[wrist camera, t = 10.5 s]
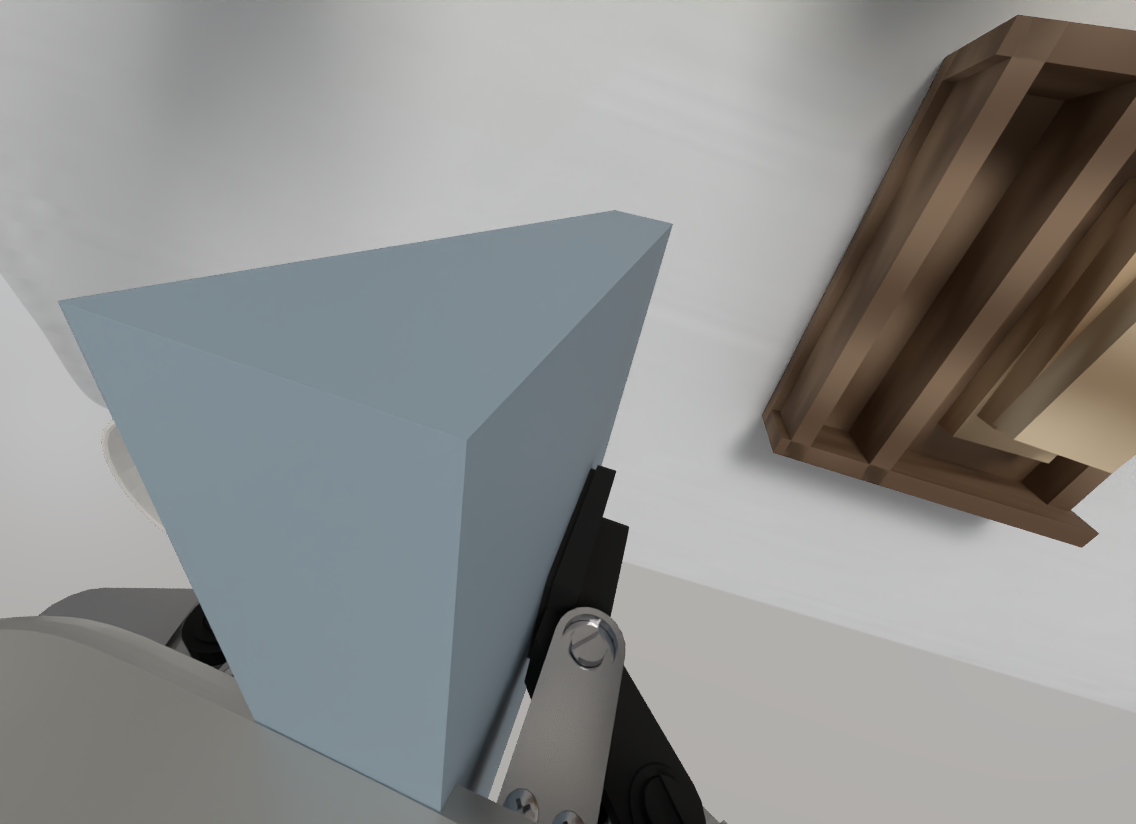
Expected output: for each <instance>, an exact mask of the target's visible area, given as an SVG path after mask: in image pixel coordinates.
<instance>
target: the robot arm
mask: <svg viewBox="0 0 1136 824" xmlns="http://www.w3.org/2000/svg"><path fill="white" fill-rule="evenodd" d="M615 474H616V471H615V470H612V469H609V468H606V467H603V466H600V465H597V468H596V470H595V469H592V468H591V469H590V471H589V474H588V476H587V479H586V481H585V484H584V486H583V489H582V491H581V494H580V496H579V499H578V501H577V504H576V506H575V509H574V511H573V514H572V516H571V519H570V521H569V524H568V526H567V529H566V531H565V534H564V536H563V539H562V541H561V544H560V547H559V549H558V552H557V554H556V557H555V559H554V562H553V564H552V567H551V569H550V572H549V575H548V578H547V581H546V584H545V588H544V591H543V595H542V599H541V603H540V607H539V611H538V615H537V619H536V623H535V627H534V631H533V635H532V639H531V643H530V647H529V651H528V655H527V658H529V659H530V661H529V665H528V669H527V673H526V676H525V680H524V683H525V685H526V688H527V690H528V693H529V695H530V698H531V703H530V706H529V709H528V712H527V715H526V718H525V721H524V724H523V726H522V729H521V732H520V736H519V738H518V741H517V744H516V747H515V750H514V753H513V756H512V759H511V762H510V765H509V768H508V771H507V774H506V777H505V780H504V783H503V785H502V788H501V792H500V795H499V797H498V800H497V803H495V802H493V801H491V800H489V799H487V798H485V797H483V796H481V795H479V794H477V793H475V792H473V791H471V790H468V789H466V788H464V787H462V786H460V785H458V784H456V785H455V787H454V789H453V791H452V792H451V794H450V796H449V798H448V799H447V801H446V803H445V805H444V806H443V808H442V810H441V812H439V811H437V810H435V809H433V808H431V807H429V806H427V805H425V804H423V803H421V802H419V801H417V800H415V799H413V798H411V797H409V796H407V795H405V794H403V793H401V792H398V791H396V790H394V789H392V788H390V787H388V786H386V785H384V784H382V783H380V782H378V781H376V780H374V779H372V778H370V777H368V776H366V775H364V774H362V773H360V772H358V771H356V770H354V769H352V768H350V767H348V766H346V765H344V764H342V763H340V762H338V761H336V760H334V759H332V758H330V757H328V756H326V755H324V754H322V753H320V752H318V751H316V750H314V749H312V748H309V747H307V746H305V745H303V744H301V743H299V742H297V741H295V740H293V739H291V738H289V737H287V736H285V735H283V734H281V733H279V732H277V731H275V730H273V729H271V728H269V727H267V726H265V725H263V724H261V723H259V722H257V721H255V720H254V718H253V716H252V713H251V711H250V709H249V707H248V705H247V703H246V701H245V699H244V696H243V694H242V692H241V690H240V688H239V686H238V684H237V682H236V679H235V677H234V675H233V673H232V671H231V669H230V667H229V664H228V662H227V660H226V658H225V656H224V654H223V652H222V650H221V647H220V645H219V643H218V641H217V639H216V637H215V635H214V633H213V630H212V628H211V626H210V624H209V622H208V620H207V618H206V616H205V613H204V611H203V609H202V607H201V605H200V603H199V601H198V598H197V596H196V594H195V592H194V590H193V589H166V588H165V589H164V588H161V589H160V588H158V589H157V588H99V589H90V590H86V591H83V592H80V593H77V594H74V595H71V596H68V597H67V598H65V599H63V600H61V601H59V602H57V603H55V604H53V605H51V606H50V607H49V608H47V609H46V610H45V611H44V612H42V613H41V614H40V615H39V616H28V617H12V618H2V619H0V824H727V823H726V822H725V821H722V822H721V823H719V822H718V821H717V820H716V819H715V818H714V817H713V816H712V815H711V814H710V813H709V812H708V811H707V810H706V809H705V808H704V807H703V806H702V802H701V799H700V797H699V795H698V793H697V791H696V788H695V786H694V784H693V783H692V781H691V779H690V777H689V776H688V774H687V773H686V771H685V769H684V767H683V765H682V764H681V762H680V760H679V759H678V757H677V755H676V754H675V752H674V750H673V748H672V747H671V745H670V743H669V742H668V740H667V738H666V736H665V735H664V733H663V731H662V730H661V728H660V726H659V725H658V723H657V721H656V719H655V718H654V716H653V714H652V713H651V711H650V709H649V708H648V706H647V704H646V702H645V701H644V699H643V697H642V696H641V694H640V692H639V690H638V689H637V687H636V685H635V684H634V682H633V680H632V678H631V677H630V675H629V674H628V672H627V670H626V668H625V667H624V659H625V641H624V638H623V634H622V632H621V630H620V629H619V627H618V625H617V624H616V622H615V621H614V620H613V619H612V618H610V617H611V612H612V607H613V602H614V598H615V593H616V588H617V583H618V579H619V574H620V569H621V564H622V560H623V555H624V550H625V545H626V541H627V536H628V531H629V526H626V525H623V524H620V523H617V522H615V521H612V520H609V519H606V518H603V514H604V510H605V507H606V504H607V500H608V497H609V494H610V490H611V487H612V484H613V480H614V477H615Z"/></svg>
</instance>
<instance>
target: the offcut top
mask: <svg viewBox="0 0 1136 824" xmlns="http://www.w3.org/2000/svg"><path fill="white" fill-rule="evenodd" d="M992 424H994V425H995V426H996V427H998V428H999V429H1000V430H1002V431H1003V432H1004V433H1006V434H1007V435H1008V436H1010V437H1011V438H1012V439H1014V440H1016V441H1019V442H1022V443H1025V444H1028V445H1031V446H1034V447H1037V448H1040V449H1042V450H1045V451H1048V452H1051V453H1054V454H1057V455H1060V456H1063V457H1066V458H1069V459H1071V460H1074V461H1077V462H1080V463H1083V464H1086V465H1089V466H1092V467H1095V468H1098V469H1100V470H1103V471H1106V472H1109V473H1113V472H1114V471H1115V470H1117V469H1118V468H1119V467H1120V466H1122V465H1123V464H1124V463H1126V462H1127V461H1128V460H1129V459H1131V458H1132V457H1133V456H1134V455H1136V278H1135V279H1134V280H1133V281H1132V282H1131V283H1130V284H1129V285H1128V286H1127V287H1126V288H1125V289H1124V290H1123V291H1122V292H1121V293H1120V294H1119V295H1118V296H1117V297H1116V298H1115V299H1114V300H1113V301H1112V302H1111V303H1110V304H1109V305H1108V306H1107V307H1106V308H1105V309H1104V310H1103V311H1102V312H1101V313H1100V314H1099V315H1098V317H1097V318H1096V319H1095V320H1094V321H1093V322H1092V323H1091V324H1090V325H1089V326H1088V327H1087V328H1086V329H1085V330H1084V331H1083V332H1082V333H1081V334H1080V335H1079V336H1078V337H1077V338H1076V339H1075V340H1074V341H1073V342H1072V343H1071V344H1070V345H1069V346H1068V347H1067V348H1066V349H1065V350H1064V351H1063V352H1062V353H1061V354H1060V355H1059V356H1058V357H1057V358H1056V359H1055V360H1054V361H1053V362H1052V363H1051V364H1050V365H1049V366H1048V367H1047V368H1046V369H1045V370H1044V372H1043V373H1042V374H1041V375H1040V376H1039V377H1038V378H1037V379H1036V380H1035V381H1034V382H1033V383H1032V384H1031V385H1030V386H1029V387H1028V388H1027V389H1026V390H1025V391H1024V392H1023V393H1022V394H1021V395H1020V396H1019V397H1018V398H1017V399H1016V400H1015V401H1014V402H1013V403H1012V404H1011V405H1010V406H1009V407H1008V408H1007V409H1006V410H1005V411H1004V412H1003V413H1002V414H1001V415H1000V416H999V417H998V418H997V419H996V420H995V421H994V422H993V423H992Z"/></svg>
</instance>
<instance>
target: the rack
mask: <svg viewBox="0 0 1136 824" xmlns="http://www.w3.org/2000/svg"><path fill="white" fill-rule="evenodd" d="M1129 178H1136V31H1133V30H1126V29H1119V28H1111V27H1104V26H1096V25H1089V24H1082V23H1074V22H1067V21H1060V20H1052V19H1045V18H1037V17H1030V16H1023V15H1017V16H1015V17H1013V18H1012V19H1010V20H1008V21H1007V22H1005V23H1003V24H1001V25H1000V26H998V27H996V28H995V29H993V30H991V31H989V32H988V33H986V34H984V35H983V36H981V37H979V38H977V39H976V40H974V41H972V42H971V43H969V44H967V45H965V46H964V47H962V48H960V49H959V50H957V51H955V52H953V53H952V54H950V55H948V56H947V57H945V59H944V61H943V63H942V65H941V67H940V69H939V71H938V73H937V75H936V77H935V79H934V81H933V83H932V85H931V87H930V89H929V91H928V93H927V95H926V96H925V98H924V100H923V102H922V104H921V106H920V108H919V110H918V112H917V114H916V116H915V118H914V120H913V122H912V124H911V126H910V128H909V130H908V132H907V134H906V136H905V138H904V139H903V141H902V143H901V145H900V147H899V149H898V151H897V153H896V155H895V157H894V159H893V161H892V163H891V165H890V167H889V169H888V171H887V173H886V175H885V177H884V179H883V181H882V182H881V184H880V186H879V188H878V190H877V192H876V194H875V196H874V198H873V200H872V202H871V204H870V206H869V208H868V210H867V212H866V214H865V216H864V218H863V220H862V222H861V224H860V225H859V227H858V229H857V231H856V233H855V235H854V237H853V239H852V241H851V243H850V245H849V247H848V249H847V251H846V253H845V255H844V257H843V259H842V261H841V263H840V265H839V267H838V268H837V270H836V272H835V274H834V276H833V278H832V280H831V282H830V284H829V286H828V288H827V290H826V292H825V294H824V296H823V298H822V300H821V302H820V304H819V306H818V308H817V310H816V311H815V313H814V315H813V317H812V319H811V321H810V323H809V325H808V327H807V329H806V331H805V333H804V335H803V337H802V339H801V341H800V343H799V345H798V347H797V349H796V351H795V353H794V354H793V356H792V358H791V360H790V362H789V364H788V366H787V368H786V370H785V372H784V374H783V376H782V378H781V380H780V382H779V384H778V386H777V388H776V390H775V392H774V394H773V396H772V397H771V399H770V401H769V403H768V405H767V407H766V409H765V411H764V413H763V415H762V417H763V420H764V423H765V427H766V430H767V433H768V437H769V440H770V444H771V447H772V450H773V453H776V454H779V455H782V456H786V457H789V458H792V459H795V460H799V461H802V462H805V463H808V464H812V465H815V466H818V467H821V468H825V469H828V470H831V471H834V472H838V473H841V474H844V475H847V476H851V477H854V478H857V479H860V480H864V481H867V482H870V483H873V484H877V485H880V486H883V487H886V488H890V489H893V490H896V491H899V492H903V493H906V494H909V495H912V496H916V497H919V498H922V499H926V500H929V501H932V502H935V503H939V504H942V505H945V506H948V507H952V508H955V509H958V510H961V511H965V512H968V513H971V514H974V515H978V516H981V517H984V518H987V519H991V520H994V521H997V522H1000V523H1004V524H1007V525H1010V526H1013V527H1017V528H1020V529H1023V530H1026V531H1030V532H1033V533H1036V534H1039V535H1043V536H1046V537H1049V538H1052V539H1056V540H1059V541H1062V542H1065V543H1069V544H1072V545H1075V546H1078V547H1083V546H1085V545H1086V544H1087V543H1088V542H1089V541H1091V540H1092V539H1093V538H1094V537H1096V536H1097V535H1098V534H1099V533H1098V532H1097V531H1095V530H1094V529H1093V528H1092V527H1091V526H1089V525H1088V524H1087V523H1086V522H1085V521H1083V520H1082V519H1081V518H1080V517H1079V516H1077V515H1076V514H1075V513H1074V512H1072V511H1071V509H1072V508H1073V507H1075V506H1076V505H1077V504H1078V503H1079V502H1080V501H1081V500H1082V499H1084V498H1085V497H1086V496H1087V495H1088V494H1089V493H1090V492H1091V491H1093V490H1094V489H1095V488H1096V487H1097V486H1098V485H1099V484H1101V483H1102V482H1103V481H1104V480H1105V479H1106V478H1107V477H1108V476H1110V475H1111V474H1112V473H1109V472H1106V471H1103V470H1100V469H1098V468H1095V467H1092V466H1089V465H1086V464H1083V463H1080V462H1077V461H1074V460H1071V459H1069V458H1066V457H1063V456H1060V455H1057V456H1056V457H1055V458H1054V459H1053V460H1052V461H1051V462H1050V463H1045V462H1042V461H1038V460H1035V459H1031V458H1028V457H1024V456H1020V455H1017V454H1013V453H1010V452H1006V451H1003V450H999V449H996V448H992V447H989V446H985V445H982V444H978V443H974V442H971V441H967V440H964V439H960V438H957V437H953V436H952V435H951V434H950V433H948V432H947V431H946V430H945V429H944V428H943V427H942V426H941V425H940V424H939V423H938V422H939V421H940V420H941V419H942V417H943V416H944V415H945V414H946V412H947V411H948V410H949V408H950V407H951V406H952V405H953V403H954V402H955V401H956V399H957V398H958V397H959V396H960V394H961V393H962V392H963V390H964V389H965V388H966V387H967V385H968V384H969V383H970V382H971V380H972V379H973V378H974V376H975V375H976V374H977V373H978V371H979V370H980V369H981V367H982V366H983V365H984V364H985V362H986V361H987V360H988V359H989V357H990V356H991V355H992V353H993V352H994V351H995V350H996V348H997V347H998V346H999V344H1000V343H1001V342H1002V341H1003V339H1004V338H1005V337H1006V335H1007V334H1008V333H1009V332H1010V330H1011V329H1012V328H1013V327H1014V325H1015V324H1016V323H1017V321H1018V320H1019V319H1020V318H1021V316H1022V315H1023V314H1024V312H1025V311H1026V310H1027V309H1028V307H1029V306H1030V305H1031V304H1032V302H1033V301H1034V300H1035V298H1036V297H1037V296H1038V295H1039V293H1040V292H1041V291H1042V289H1043V288H1044V287H1045V286H1046V284H1047V283H1048V282H1049V280H1050V279H1051V278H1052V277H1053V275H1054V274H1055V273H1056V272H1057V270H1058V269H1059V268H1060V266H1061V265H1062V264H1063V263H1064V261H1065V260H1066V259H1067V257H1068V256H1069V255H1070V254H1071V252H1072V251H1073V250H1074V248H1075V247H1076V246H1077V245H1078V243H1079V242H1080V241H1081V240H1082V238H1083V237H1084V236H1085V234H1086V233H1087V232H1088V231H1089V229H1090V228H1091V227H1092V225H1093V224H1094V223H1095V222H1096V220H1097V219H1098V218H1099V217H1100V215H1101V214H1102V213H1103V211H1104V210H1105V209H1106V208H1107V206H1108V205H1109V204H1110V202H1111V201H1112V200H1113V199H1114V197H1115V196H1116V195H1117V193H1118V192H1119V191H1120V190H1121V188H1122V187H1123V186H1124V185H1125V183H1126V182H1127V181H1128V179H1129Z"/></svg>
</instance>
